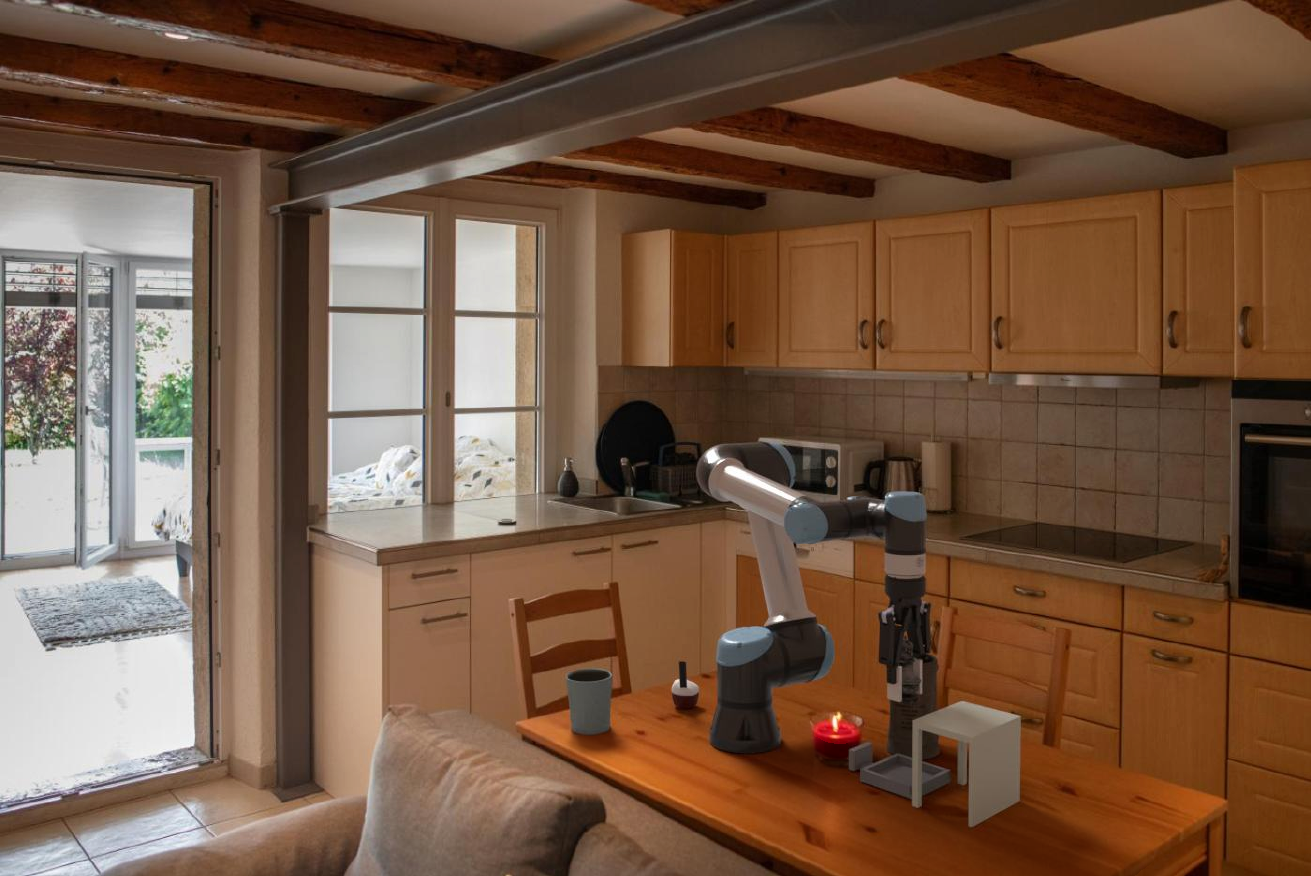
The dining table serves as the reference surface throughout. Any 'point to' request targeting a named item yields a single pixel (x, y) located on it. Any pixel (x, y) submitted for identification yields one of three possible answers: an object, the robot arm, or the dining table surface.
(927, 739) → the beer stein
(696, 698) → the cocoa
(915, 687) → the dark grey tall piece
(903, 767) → the tray
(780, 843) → the dining table surface
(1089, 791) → the dining table surface
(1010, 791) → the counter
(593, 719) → the grey-blue cup
